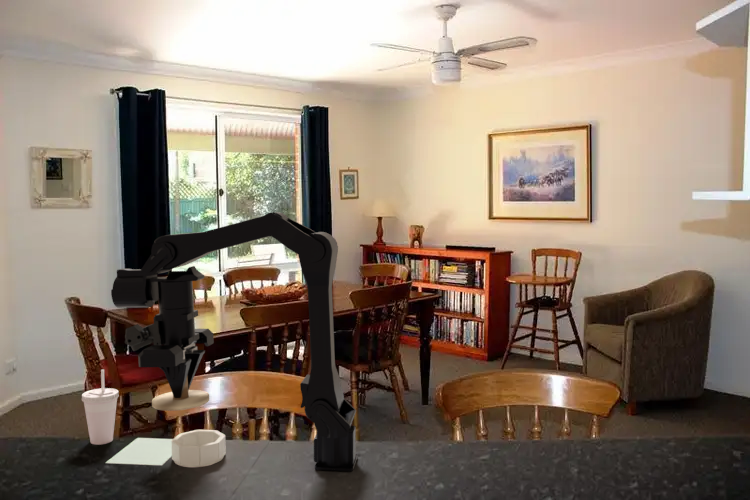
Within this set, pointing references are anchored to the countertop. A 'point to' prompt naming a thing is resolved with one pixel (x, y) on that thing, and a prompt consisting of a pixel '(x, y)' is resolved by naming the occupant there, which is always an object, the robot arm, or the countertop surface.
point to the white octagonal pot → (198, 448)
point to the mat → (144, 452)
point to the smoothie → (100, 412)
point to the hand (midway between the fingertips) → (181, 395)
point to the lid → (181, 400)
